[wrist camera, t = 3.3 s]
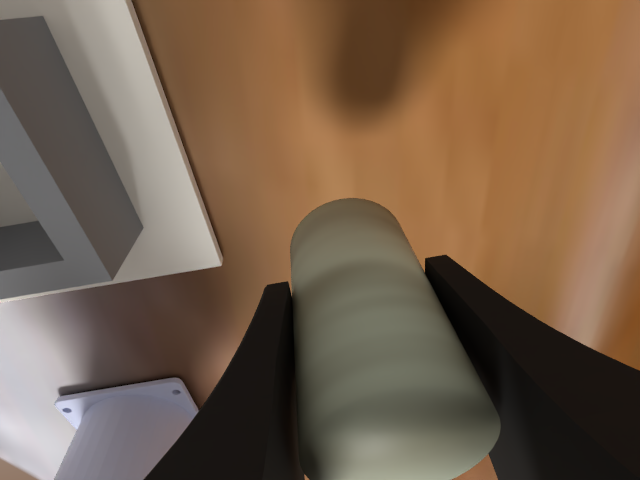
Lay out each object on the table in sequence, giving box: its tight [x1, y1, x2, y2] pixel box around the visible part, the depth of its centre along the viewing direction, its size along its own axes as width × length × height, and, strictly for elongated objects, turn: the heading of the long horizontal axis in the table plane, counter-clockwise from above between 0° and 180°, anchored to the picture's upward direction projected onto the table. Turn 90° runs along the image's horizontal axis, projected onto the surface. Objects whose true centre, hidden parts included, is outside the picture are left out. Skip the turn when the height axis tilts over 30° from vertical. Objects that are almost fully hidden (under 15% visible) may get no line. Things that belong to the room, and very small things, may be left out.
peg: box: [290, 198, 501, 480], centre depth 10 cm, size 4×4×7 cm
